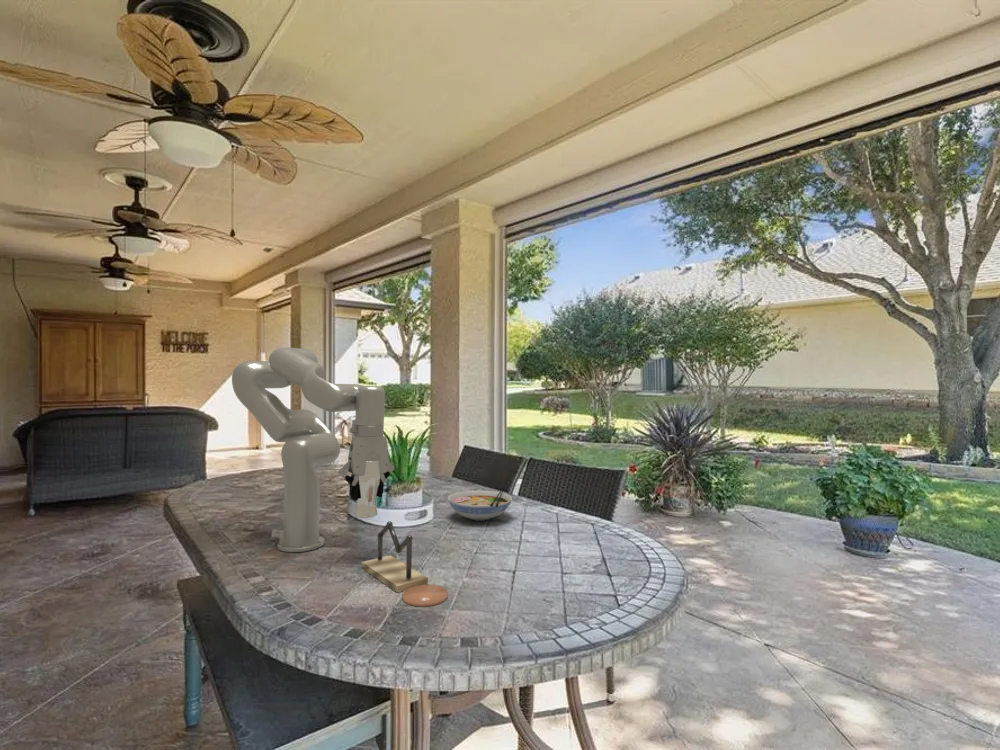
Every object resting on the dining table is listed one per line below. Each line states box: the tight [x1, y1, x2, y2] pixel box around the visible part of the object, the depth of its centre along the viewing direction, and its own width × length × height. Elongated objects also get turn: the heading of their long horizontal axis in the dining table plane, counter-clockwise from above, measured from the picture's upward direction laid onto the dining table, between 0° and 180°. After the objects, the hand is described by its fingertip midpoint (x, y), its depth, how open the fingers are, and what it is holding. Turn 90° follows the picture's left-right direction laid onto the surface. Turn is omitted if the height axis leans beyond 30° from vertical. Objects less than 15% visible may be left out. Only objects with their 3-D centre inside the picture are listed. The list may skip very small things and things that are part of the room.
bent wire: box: [376, 521, 414, 578], centre depth 123 cm, size 16×2×11 cm, turn 40°
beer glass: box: [353, 461, 381, 519], centre depth 135 cm, size 7×7×15 cm
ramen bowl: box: [447, 489, 513, 522], centre depth 175 cm, size 25×23×8 cm
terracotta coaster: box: [401, 584, 449, 608], centre depth 111 cm, size 10×10×1 cm
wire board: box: [361, 555, 429, 593], centre depth 123 cm, size 19×8×2 cm, turn 40°
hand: (366, 497), depth 135 cm, fingers closed on beer glass, 6 cm apart
